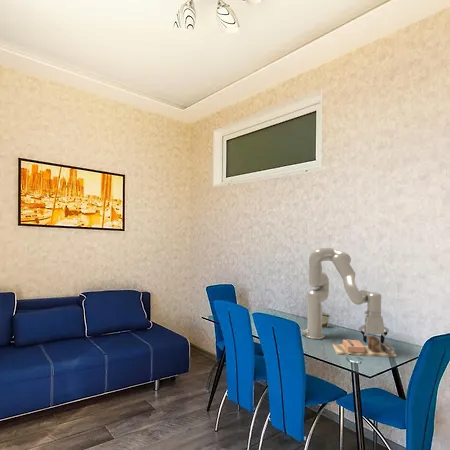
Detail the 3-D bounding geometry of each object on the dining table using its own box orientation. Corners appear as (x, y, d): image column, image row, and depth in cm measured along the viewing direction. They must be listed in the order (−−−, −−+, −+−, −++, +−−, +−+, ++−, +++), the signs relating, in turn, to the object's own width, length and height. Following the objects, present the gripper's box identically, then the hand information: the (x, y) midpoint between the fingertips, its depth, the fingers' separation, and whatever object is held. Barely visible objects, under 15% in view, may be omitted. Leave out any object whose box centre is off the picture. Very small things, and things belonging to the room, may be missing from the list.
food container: (327, 325, 256) (327, 312, 256) (329, 328, 250) (329, 314, 250) (310, 324, 257) (311, 311, 257) (312, 327, 251) (312, 313, 251)
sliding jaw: (347, 351, 199) (347, 344, 199) (342, 344, 211) (342, 337, 211) (365, 352, 198) (365, 345, 198) (359, 345, 210) (359, 338, 210)
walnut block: (372, 352, 200) (372, 340, 200) (367, 347, 208) (368, 335, 208) (379, 352, 199) (379, 340, 199) (374, 347, 207) (374, 336, 207)
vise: (337, 354, 199) (337, 347, 199) (332, 345, 213) (332, 339, 213) (396, 357, 196) (396, 349, 196) (387, 348, 210) (387, 341, 210)
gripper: (361, 314, 201) (360, 343, 201) (391, 316, 199) (391, 345, 199) (357, 311, 208) (356, 339, 208) (386, 312, 207) (386, 341, 207)
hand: (373, 342), depth 204 cm, fingers open, 9 cm apart
